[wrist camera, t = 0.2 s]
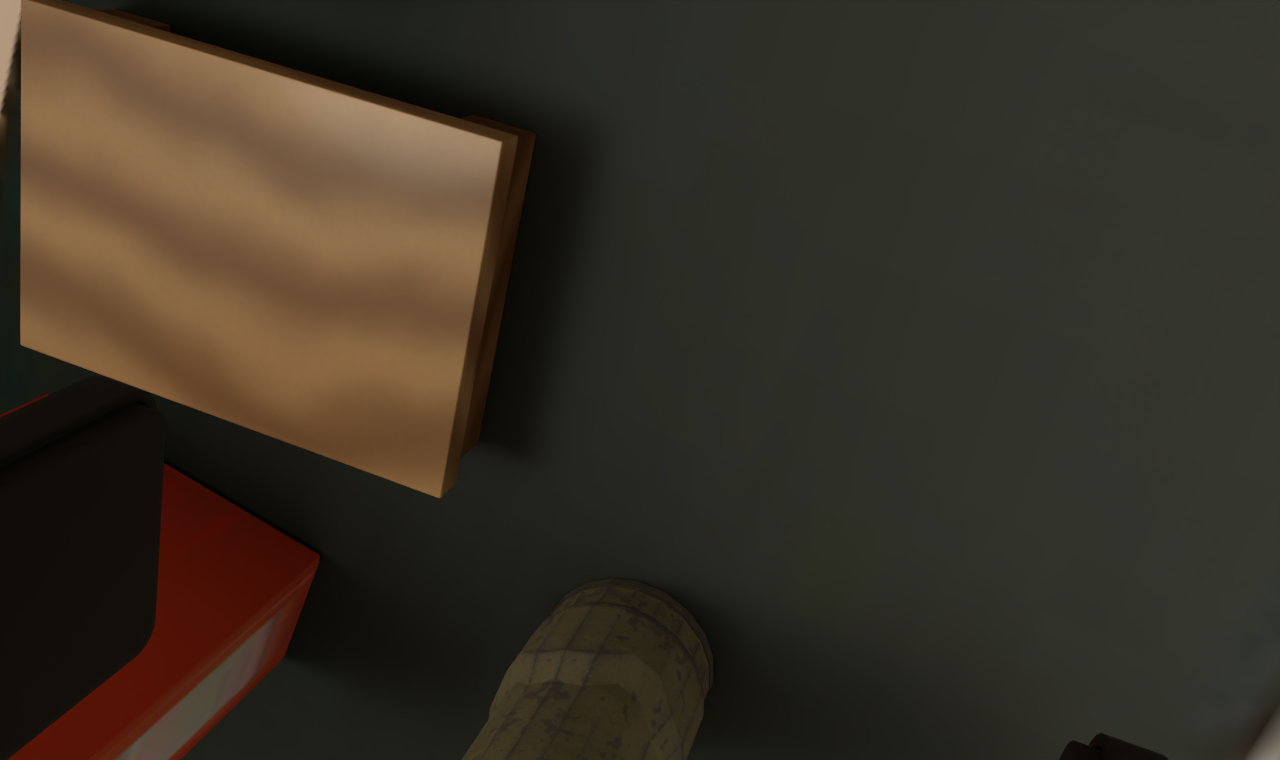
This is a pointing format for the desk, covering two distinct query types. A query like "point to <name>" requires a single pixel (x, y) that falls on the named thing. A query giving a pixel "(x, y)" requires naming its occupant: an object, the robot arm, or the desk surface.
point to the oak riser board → (264, 240)
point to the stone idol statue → (603, 681)
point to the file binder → (192, 633)
